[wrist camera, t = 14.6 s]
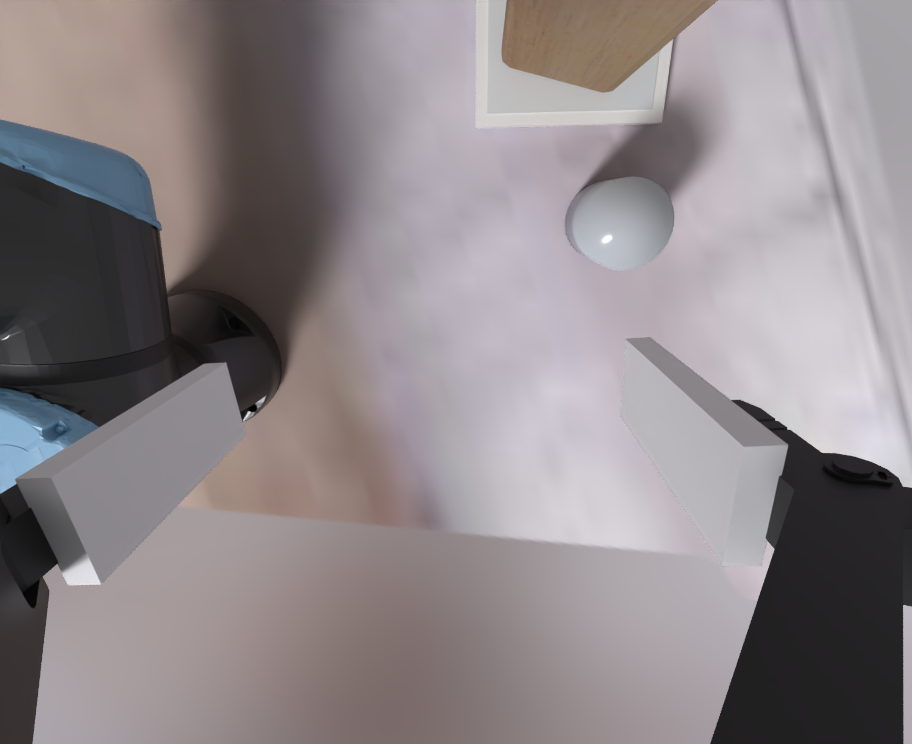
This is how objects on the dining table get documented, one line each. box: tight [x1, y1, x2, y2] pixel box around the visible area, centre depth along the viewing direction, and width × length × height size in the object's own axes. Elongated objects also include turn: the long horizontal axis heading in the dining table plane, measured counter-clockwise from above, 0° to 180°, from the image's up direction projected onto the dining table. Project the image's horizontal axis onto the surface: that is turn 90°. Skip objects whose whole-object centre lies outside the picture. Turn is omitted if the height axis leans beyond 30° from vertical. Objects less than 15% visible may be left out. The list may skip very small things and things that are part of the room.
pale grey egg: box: [565, 176, 674, 271], centre depth 39 cm, size 7×7×8 cm
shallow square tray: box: [476, 0, 673, 129], centre depth 36 cm, size 16×16×1 cm
